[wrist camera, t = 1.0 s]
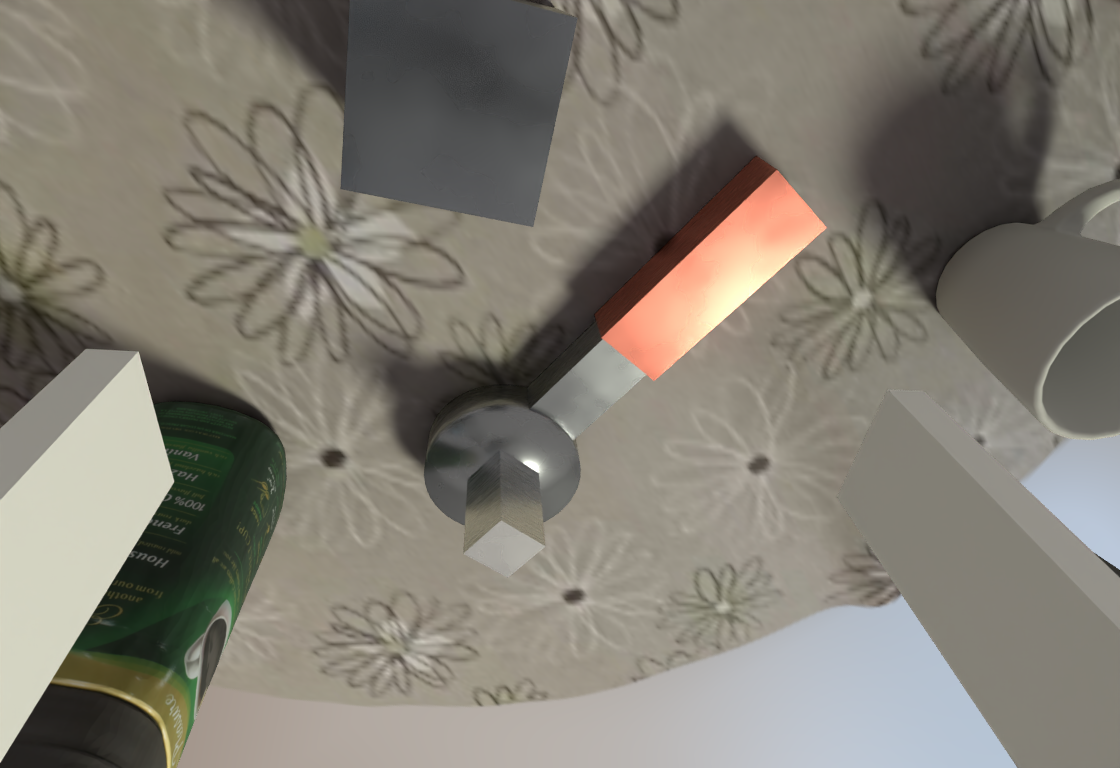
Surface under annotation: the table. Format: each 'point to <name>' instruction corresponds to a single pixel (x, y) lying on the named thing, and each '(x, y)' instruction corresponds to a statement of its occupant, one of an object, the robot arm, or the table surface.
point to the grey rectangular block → (454, 102)
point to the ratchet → (605, 368)
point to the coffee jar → (165, 603)
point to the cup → (1045, 314)
